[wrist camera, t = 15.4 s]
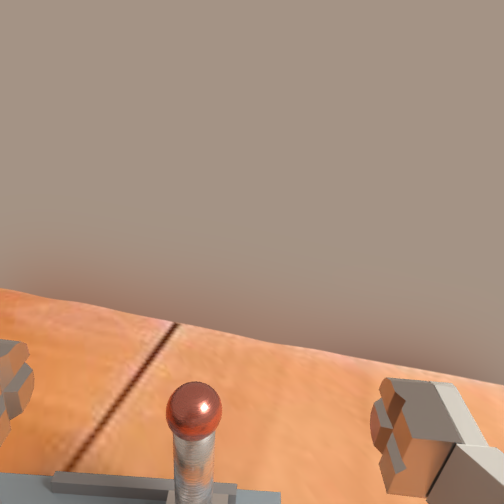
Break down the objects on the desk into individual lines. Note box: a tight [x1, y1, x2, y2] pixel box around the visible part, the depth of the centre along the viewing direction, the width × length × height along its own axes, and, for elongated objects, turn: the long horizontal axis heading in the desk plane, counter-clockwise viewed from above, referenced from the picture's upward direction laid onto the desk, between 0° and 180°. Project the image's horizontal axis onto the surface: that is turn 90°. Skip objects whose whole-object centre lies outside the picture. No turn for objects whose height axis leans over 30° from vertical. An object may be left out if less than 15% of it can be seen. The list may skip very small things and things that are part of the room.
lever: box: [166, 382, 228, 504], centre depth 27 cm, size 9×6×16 cm
